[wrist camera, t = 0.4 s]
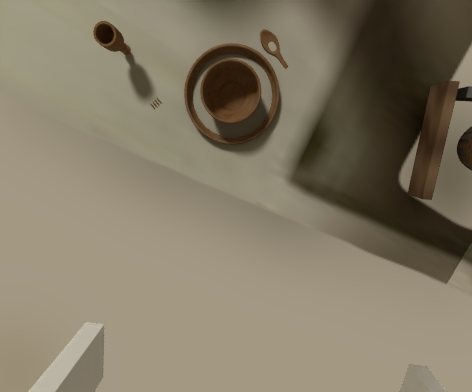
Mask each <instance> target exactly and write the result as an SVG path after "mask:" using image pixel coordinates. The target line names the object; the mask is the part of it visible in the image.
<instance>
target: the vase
mask: <svg viewBox="0 0 472 392" xmlns="http://www.w3.org/2000/svg"><path fill="white" fill-rule="evenodd" d="M457 154H458V157H459V159H460V161H461V162H462V164H464V165H465V166H466V167H467V168H469V169H470V170H472V127H470V128H469V129H468V130H467V131H466V132H465V133H464V134H463V135H462V136H461V138H460V140H459V142H458V145H457Z"/></svg>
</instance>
